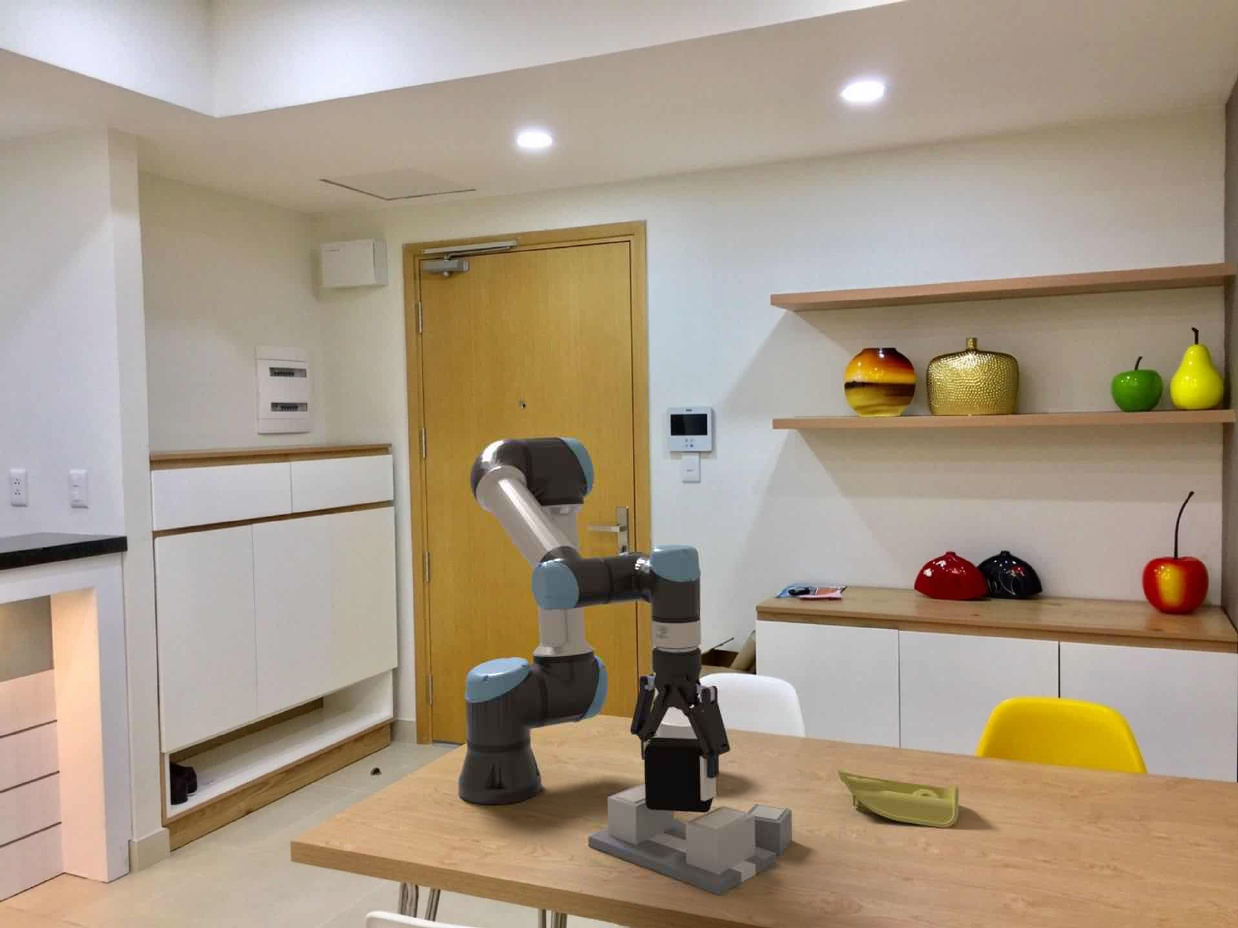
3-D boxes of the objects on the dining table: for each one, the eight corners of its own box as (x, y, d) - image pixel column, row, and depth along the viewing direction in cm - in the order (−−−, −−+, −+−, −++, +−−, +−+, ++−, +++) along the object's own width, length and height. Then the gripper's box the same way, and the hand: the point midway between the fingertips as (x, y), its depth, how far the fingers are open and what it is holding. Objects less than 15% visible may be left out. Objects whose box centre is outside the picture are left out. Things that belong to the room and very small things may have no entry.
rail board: (588, 845, 160) (587, 797, 159) (647, 819, 170) (646, 774, 170) (719, 894, 142) (718, 840, 142) (776, 862, 152) (775, 812, 152)
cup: (730, 769, 194) (729, 712, 194) (699, 789, 184) (698, 729, 183) (673, 759, 201) (672, 704, 200) (641, 777, 190) (640, 719, 190)
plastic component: (954, 789, 175) (959, 782, 166) (952, 834, 172) (957, 829, 163) (838, 773, 180) (836, 765, 171) (834, 816, 177) (833, 810, 168)
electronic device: (710, 813, 152) (709, 747, 152) (645, 809, 154) (643, 745, 154) (713, 802, 156) (712, 739, 156) (650, 799, 158) (648, 736, 158)
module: (743, 848, 158) (742, 815, 158) (756, 834, 163) (755, 802, 163) (780, 855, 155) (779, 821, 155) (792, 840, 160) (791, 808, 160)
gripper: (605, 641, 160) (608, 779, 160) (721, 661, 144) (724, 814, 145) (637, 634, 165) (640, 767, 166) (752, 652, 149) (755, 799, 150)
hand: (679, 789), depth 155 cm, fingers closed on electronic device, 11 cm apart
